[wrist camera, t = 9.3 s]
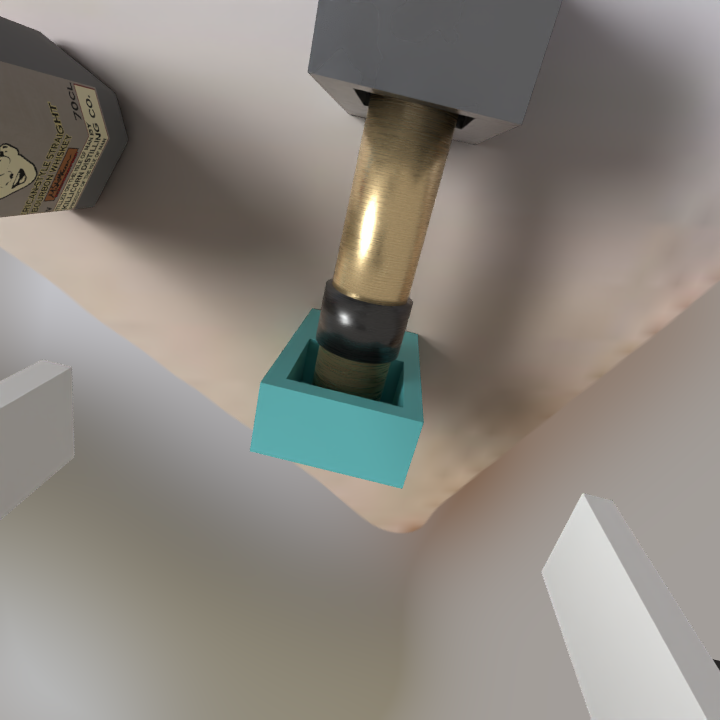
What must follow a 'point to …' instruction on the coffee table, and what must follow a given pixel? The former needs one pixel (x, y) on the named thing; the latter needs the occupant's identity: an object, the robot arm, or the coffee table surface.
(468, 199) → the coffee table surface
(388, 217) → the brass tube
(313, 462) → the socket
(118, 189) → the coffee table surface
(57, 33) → the coffee table surface
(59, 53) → the liquor
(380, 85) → the grey matte cuboid
